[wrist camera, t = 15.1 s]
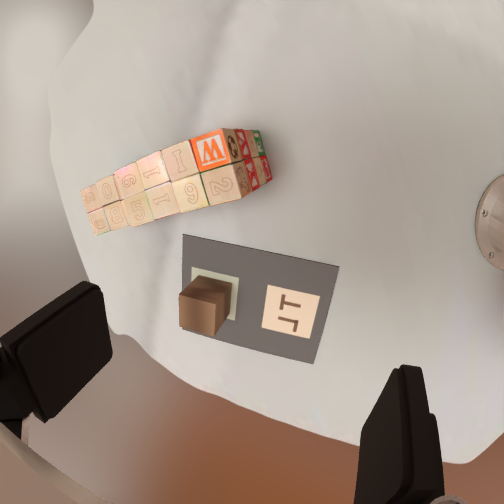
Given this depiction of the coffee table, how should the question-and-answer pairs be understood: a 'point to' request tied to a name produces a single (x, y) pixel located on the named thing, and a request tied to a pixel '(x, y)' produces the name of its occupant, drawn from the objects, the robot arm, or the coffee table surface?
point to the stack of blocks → (179, 180)
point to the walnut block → (205, 305)
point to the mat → (265, 296)
